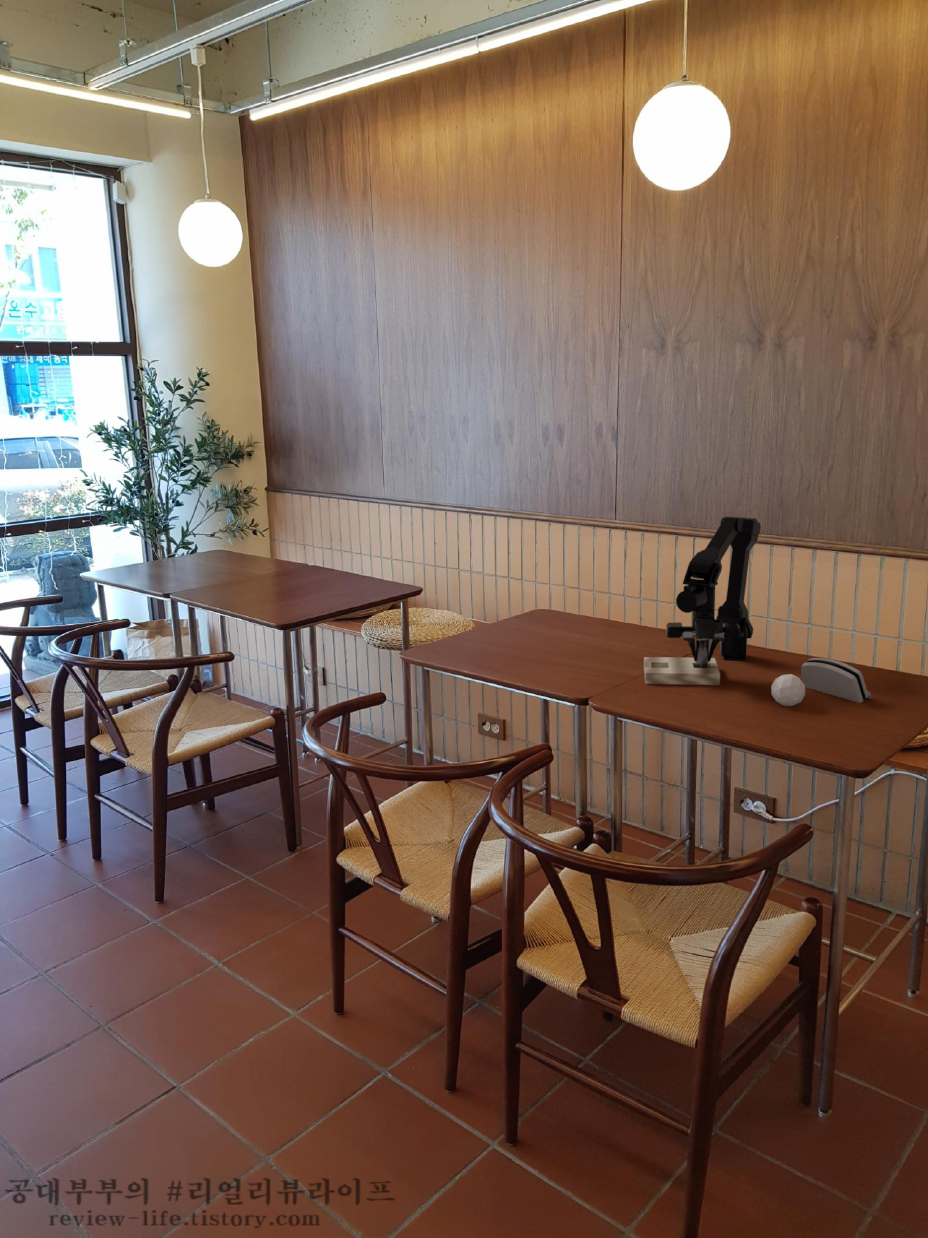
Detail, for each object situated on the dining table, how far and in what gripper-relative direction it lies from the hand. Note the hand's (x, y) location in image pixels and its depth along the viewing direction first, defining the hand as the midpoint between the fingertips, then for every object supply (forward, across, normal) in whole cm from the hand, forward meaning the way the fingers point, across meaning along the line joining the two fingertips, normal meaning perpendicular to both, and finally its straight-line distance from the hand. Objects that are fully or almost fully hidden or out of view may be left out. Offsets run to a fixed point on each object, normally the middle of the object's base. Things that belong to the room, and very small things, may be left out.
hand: (702, 661), depth 249 cm
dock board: (+4, -6, 0) cm, 7 cm away
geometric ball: (+4, +18, -21) cm, 28 cm away
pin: (+4, 0, 0) cm, 4 cm away
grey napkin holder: (+5, +31, -12) cm, 34 cm away
